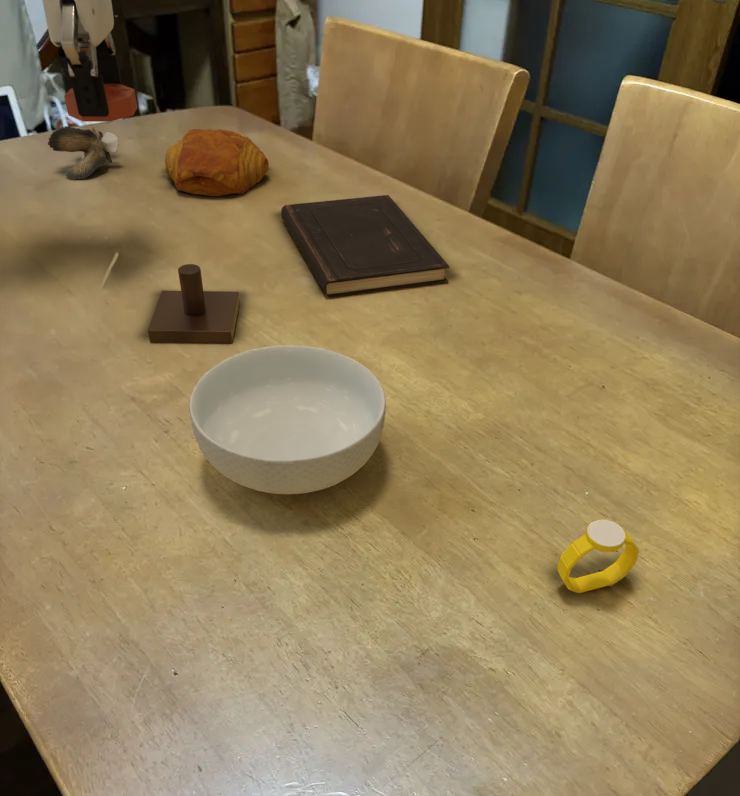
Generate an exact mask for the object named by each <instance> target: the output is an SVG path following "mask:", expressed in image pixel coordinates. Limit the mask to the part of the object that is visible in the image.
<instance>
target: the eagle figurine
mask: <svg viewBox="0 0 740 796" xmlns="http://www.w3.org/2000/svg"><path fill="white" fill-rule="evenodd" d="M47 146H49V148H50V149H52V151H54V152H66V153H75V152H82V153H83V155H82V157H81V159H80V160H78V162H76V163H75V165H74V166H73V167H72V168H70V169H69V170H67V171H66V172H65V177H66V178H65V179H68V180H82V179H87V178H88V177H90V176H91V175H92V174H94V172H95V171H96V170H97V169H98V168H99V167H101V166H103V165H105V164H106V162H108V163H111V164H112V163H113V159H112V157H111V154H116V153H117V151H118V149H119V146H120V142H119V138H118V136H117V135H116V134H114V133H113V132H110V131H106V132H104V134H103V132H102V131H100V130H98V131H97V130H96V129H95V128H94V127H91V129H90V128H87V129H83V128H75V127H71V126H70V125H67V126H66V125H65V126H64V127H63V126H62V127H59V128H58V129H55V130H54V131H52V133H51V134H50V137H48V142H47Z"/></svg>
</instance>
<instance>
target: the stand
mask: <svg viewBox="0 0 740 796" xmlns="http://www.w3.org/2000/svg"><path fill="white" fill-rule="evenodd" d="M177 273H178V279H179V287H180V290H161V292H160V295H159V298H158V299H157V300H158V301H157V303H156V306H155V308H154V311H153V315H152V317H151V320H150V323H149V326H148V329H147V334H148V340H149V343H178V344H179V343H182V344H184V343H185V344H188V343H190V344H198V343H199V344H232V343H233V340H234V334H235V329H236V326H237V325H236V324H237V320H238V314H239V310H240V305H241V300H240V291H222V290H221V291H219V290H218V291H217V290H216V291H215V290H212V291H211V290H204V285H203V278H202V270H201V267H200V266H199V265H197V264H195V263H187V264H186V263H185V264H183V265H180V266H179V267H178V269H177Z"/></svg>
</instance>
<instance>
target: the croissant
mask: <svg viewBox="0 0 740 796" xmlns="http://www.w3.org/2000/svg"><path fill="white" fill-rule="evenodd" d="M165 153H166V154H165V159H164V163H165V164H164V166H165V170H166V171H165V172H166V175H167V178H169V179H170V180H172V181H173V182H174V186H175V188H176V190H177V191H181V192H185V193H187V194H191V195H202V196H209V197H222V196H226V195H231V194H232V195H233V194H234V195H240V194H244V193H245V192H249V189H250V188H253V187H254V186H255V185H256V184H257V183H260V181H261V180H262V179H263V178H264V175H265V174H266V173H267V172H268V171H269V166H270V163H269V160H268V158H267V156H266V155H265V153H264V152H263V151H262V150H261V149H260V148H259V147H258V146H257V145H256V143H254V142H253V141H252V139H251V138H249V137H248V136H244V135H242V134H240V133H237V132H235V131H232V130H227V129H212V128H211V129H209V128H208V129H201V128H198V129H189V130H188V131H186V132H185V133H184V135H183V136H182V138H181V139H180V140H178V141H177V142H175V143H174V144H173V145H169V147H167V150H166V152H165Z"/></svg>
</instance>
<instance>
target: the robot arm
mask: <svg viewBox="0 0 740 796" xmlns="http://www.w3.org/2000/svg"><path fill="white" fill-rule="evenodd" d="M41 2H42V6H43V10H44V16H45V21H46V27H47V31H48V35H49V40H50V42H51V43H52V45H54V46H55V47H57V48H59V47H60V48H61V47H62V50H63V52H64V54H65V62H66V63H67V70H68V74H69V77H70V81H71V86H72V88H73V91H74V95H75V100H76V104H77V108H78V113H79V115H80V116H89V117H106V116H108V114H109V108H108V103H107V98H106V93H105V88H104V84H121V85H123V84H122V83H123V82H122V78H121V73H120V72H121V71H120V67H119V62H118V57H117V55H116V47H115V43H114V40H113V37H112V30H113V29H114V26H115V18H114V10H113V3H112V0H41ZM79 39H84V41H83V40H81V41H80V40H79ZM85 52H87V54H88V55H87V54H86V53H85Z"/></svg>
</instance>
